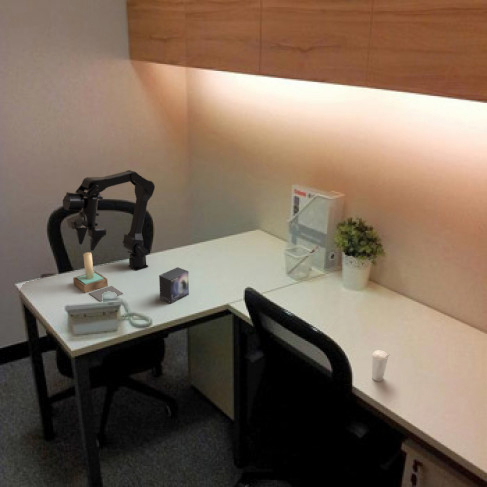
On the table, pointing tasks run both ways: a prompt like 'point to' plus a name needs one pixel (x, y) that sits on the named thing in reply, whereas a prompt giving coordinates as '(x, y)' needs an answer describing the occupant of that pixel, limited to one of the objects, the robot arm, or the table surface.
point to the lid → (89, 271)
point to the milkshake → (379, 365)
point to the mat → (99, 293)
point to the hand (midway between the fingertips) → (86, 247)
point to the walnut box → (90, 286)
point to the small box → (174, 285)
